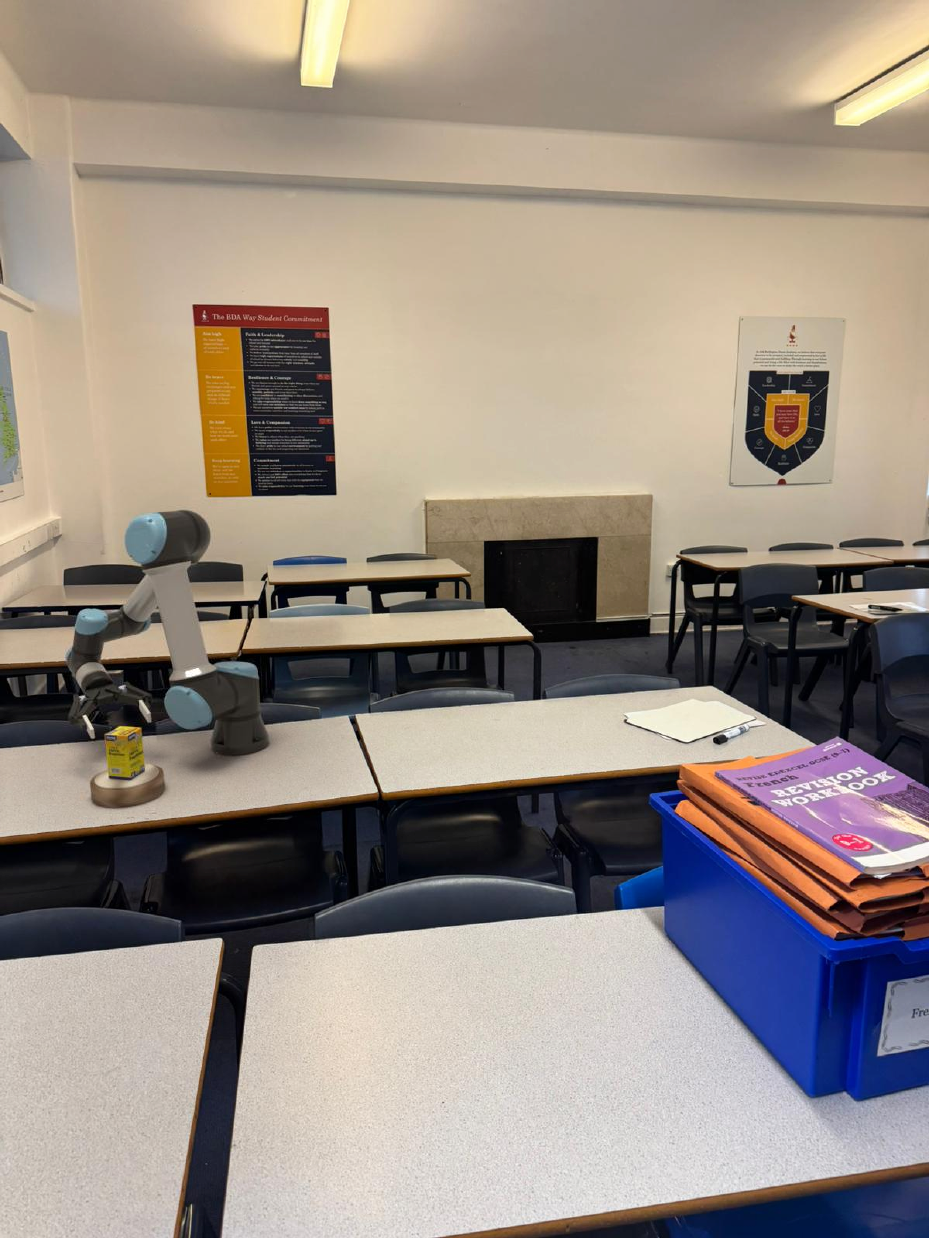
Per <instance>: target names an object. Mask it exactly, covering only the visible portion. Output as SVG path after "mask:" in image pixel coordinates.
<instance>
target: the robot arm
mask: <svg viewBox="0 0 929 1238" xmlns="http://www.w3.org/2000/svg"><path fill="white" fill-rule="evenodd" d="M211 535H212V534H211V529H210V527H209V523H208V522H207V521H206V519H205V518H203V516H201V515H200V514H199V513H197V512H196V511H195V512H194V511H192V510H188V509H178V510H172V511H170V510H169V511H159V512H149V513H145V514H140V515H138V516H136V517H134V518H133V519H132V520H131V521H130V522H129V523H128V527H126V530H125V534H124V546H125V550H126V553H127V555H128V556H129V557H130V558H131V560H132V561H133V562H135V563H137V564H140V567H141V570H142V573H144V574H145V575H144V577H143V578H142V580H141V581H140V582H139V583H138V585H136V587H135V588H134V590H133V591H132V592H131V594H130V596H129V597H128V598H127V600H126V601H125V603H123V605H122V606H121V607H120V608H119V609H118V610H117V611H113V612H109V613H106V612H105V611H104V610H101V609H98V608H85V609H82V610H80V611H79V612H78V614H77V617H76V620H75V624H74V633H73V634H74V635H73V639H72V641H73V642H72V646H71V647H69V649H68V650H67V651H66V653H65V662H66V665H67V668H68V670H69V671H70V672H71V674H72V675H73V677H74V678H75V680H76V682H77V684H78V685H79V687H80V688H81V691H82V693H83V695H80V696H79V694H76V693H75V694H73V703H72V705H71V708H70V711H69V713H68V715H67V716H68V724H69V725H70V726H74V725H75V724H77V726H78V727H79V728H80V729H81V730H82V731H87V733H88V735H89V736H90V739H93V740H94V739H95V738H96V735H95V729H94V727H93V725H92V723H91V722H90V720H89V716H90V715H91V714H92V712H93V711H94V710H97V708H98V706H103V705H107V704H113V703H117V704H121V703H123V704H127V705H132V706H136V707H138V708H139V711H140V712H141V714H142V715H143V717H144V718H145V720H146V722H147V723H152V715H151V714H152V713H151V704H153V695H152V694H151V693H149V692H147V691H144V690H142V689H140V688H138V687H135V686H134V685H132V684H131V683H130V682H128V681H124V682H123V684H122V685H120V686H118V685H116V684H115V682H114V680H113V679H112V677H111V676H110V675H109V673H108V671H107V670H106V668H105V667H104V665H103V663H102V661H101V660H102V654H103V649H104V645H105V643H109V642H112V641H116V640H121V639H123V638H127V637H132V636H137V635H139V634H141V633H144V632H146V631H148V630H149V628H150V627H151V623H152V617H151V615H152V614H153V613H154V611H156V609H157V610H158V612H159V616H160V620H161V624H162V627H163V628H162V629H163V633H164V636H165V640H166V643H167V648H168V649H167V650H168V654H169V656H170V661H171V664H172V669H173V671H172V674H171V675H170V677H169V679H168V680H169V683H170V688H169V689H168V691H167V692H166V693H165V697H164V708H165V711H166V712H167V714H168V717H170V719H171V720H172V721H173V723H175V724H177V725H178V726H179V727H180V728H183V729H186V730H196V729H198V728H202V727H206V726H208V725H210V724H211V723H213V722H215V724H214V727H213V730H212V735H211V738H210V748H211V751H212V752H214V753H216V754H218V755H225V756H241V755H248V754H253V753H256V752H258V751H259V752H260V751H261V750H263V749H265V748H267V746H268V745H269V744H270V742H269V738H270V737H269V733H268V731H267V728H266V725H265V723H264V721H263V719H262V716H261V702H260V701H261V699H260V697H261V696H260V682H259V681H260V677H259V674H258V673H259V672H258V668H257V666H256V665H255V664H253V663H251V662H245V661H220V662H216V663H214V664H212V663H210V662H209V659H208V654H207V653H208V652H207V650H206V645H205V642H204V638H203V632H202V628H201V625H200V620H199V617H198V613H197V612H198V611H197V607H196V603H195V599H194V596H193V591H192V588H191V582H190V579H189V575H188V569H189V568H190V567H191V565H196V564H197V563H198V562H199V561H200V560H201V558H202V557H203V556H204V555H205V554H206V552H207V550H208V548H209V546H210V543H211ZM85 701H86V703H85V704H84V706H83V703H84V702H85ZM81 706H83V707H82V708H81Z"/></svg>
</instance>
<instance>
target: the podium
mask: <svg viewBox="0 0 929 1238" xmlns="http://www.w3.org/2000/svg"><path fill="white" fill-rule="evenodd" d="M144 764H145V771H144V772H143V773H141V774H139V775H137V776H136V777H134V778H133V779H132V780H121V779H110V778H109V775H108V768H107V769H105V770H103V771H101V772H99V773H97V774H96V775H94V776H93V777H92V778H91V779H90V782H89V787H90V788H89V789H90V796H91V802H92V803H93V804H94V805H96V806H98V807H101V808H107V809H108V808H111V809H120V808H130V807H135V806H139V805H143V804H145V803H148V802H152V801H153V800H155V799H158V797H160V796H161V795H162V794H163V793H164V792H165V790H166V785H165V784H166V783H165V774H164V773H165V772H164V770H163V768H162V767H160V766H158V765H155V764H150V763H149V764H148V763H144Z"/></svg>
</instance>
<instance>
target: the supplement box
mask: <svg viewBox="0 0 929 1238" xmlns="http://www.w3.org/2000/svg"><path fill="white" fill-rule="evenodd" d="M104 743H105V752H106V753H105V754H106V764H107V765H106V766H107V769H108V775H109V778H110V779H121V780H132V779H133V778H134V777H136V776H137V775H139V774H141V773H143V772H144V771H145V764H146V763H145V754H144V743H143V732H142V727H135V726H125V725H123V726H121V725H119V726H118V727H116V728H114V729H113V730H111V731H109V732H107V733H105V734H104Z"/></svg>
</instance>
